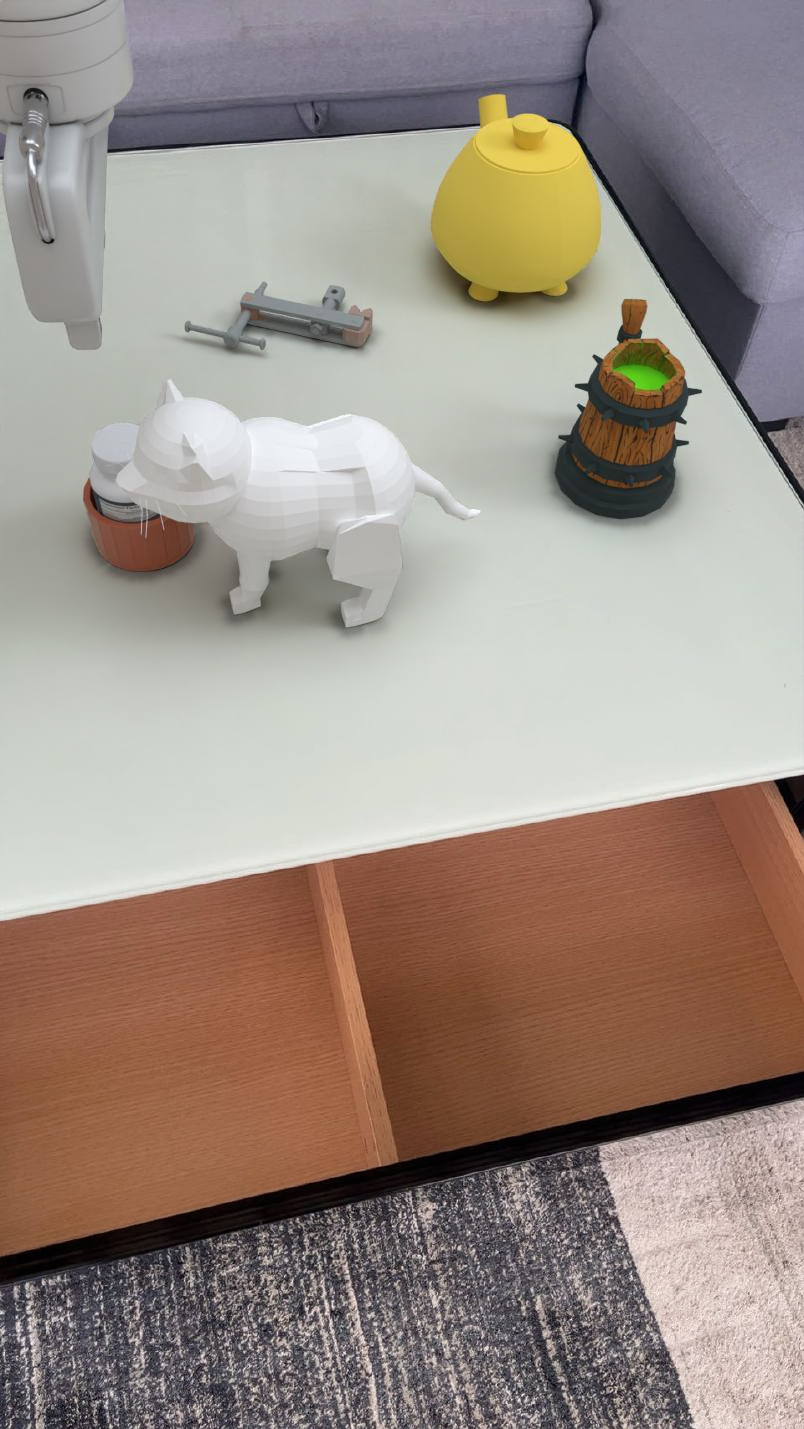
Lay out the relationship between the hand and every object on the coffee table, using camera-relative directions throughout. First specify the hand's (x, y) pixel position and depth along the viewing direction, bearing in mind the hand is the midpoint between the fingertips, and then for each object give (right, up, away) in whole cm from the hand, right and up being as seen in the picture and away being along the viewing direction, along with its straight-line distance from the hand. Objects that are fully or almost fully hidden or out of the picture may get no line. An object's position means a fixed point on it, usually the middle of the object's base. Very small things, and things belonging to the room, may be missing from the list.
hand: (89, 292), depth 64 cm
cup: (0, -12, +15) cm, 20 cm away
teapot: (+29, +19, +38) cm, 51 cm away
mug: (+36, -5, +22) cm, 43 cm away
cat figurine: (+12, -16, +14) cm, 24 cm away
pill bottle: (-1, -12, +15) cm, 19 cm away
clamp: (+8, +9, +30) cm, 33 cm away
